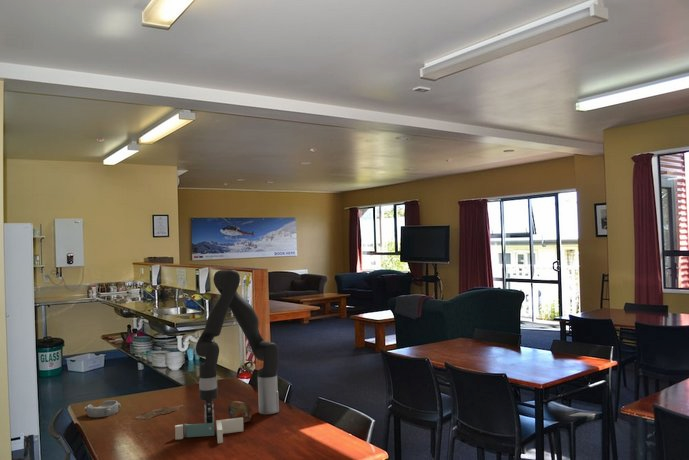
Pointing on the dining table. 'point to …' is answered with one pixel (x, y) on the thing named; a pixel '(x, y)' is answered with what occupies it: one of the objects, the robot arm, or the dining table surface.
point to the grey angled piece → (217, 428)
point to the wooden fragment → (158, 412)
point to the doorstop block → (209, 416)
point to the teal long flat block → (199, 430)
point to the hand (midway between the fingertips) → (209, 426)
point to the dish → (103, 409)
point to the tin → (240, 410)
